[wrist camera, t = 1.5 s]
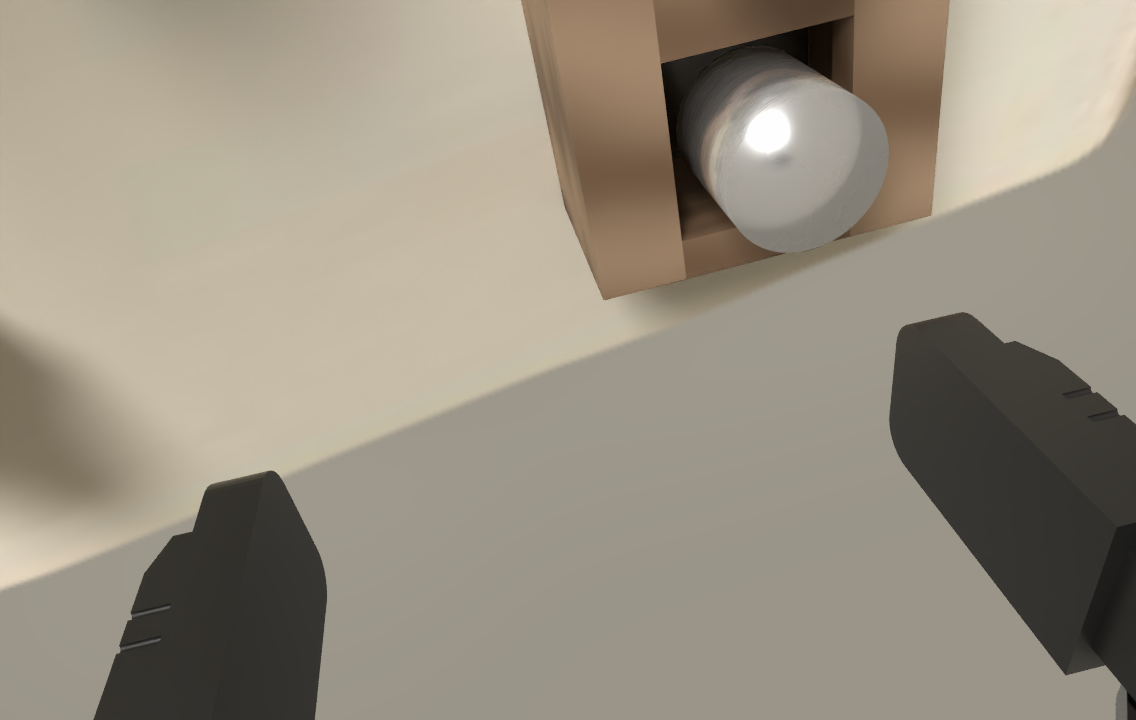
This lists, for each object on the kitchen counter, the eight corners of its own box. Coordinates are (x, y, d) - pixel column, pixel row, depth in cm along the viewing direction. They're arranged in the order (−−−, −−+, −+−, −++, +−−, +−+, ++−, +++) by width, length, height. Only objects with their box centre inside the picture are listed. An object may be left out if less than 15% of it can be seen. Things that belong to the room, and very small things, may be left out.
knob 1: (668, 66, 25) (719, 114, 21) (813, 29, 25) (893, 71, 21) (684, 203, 28) (732, 270, 24) (815, 169, 28) (885, 230, 24)
